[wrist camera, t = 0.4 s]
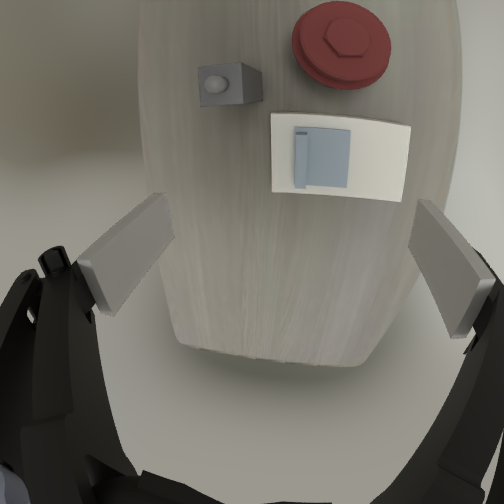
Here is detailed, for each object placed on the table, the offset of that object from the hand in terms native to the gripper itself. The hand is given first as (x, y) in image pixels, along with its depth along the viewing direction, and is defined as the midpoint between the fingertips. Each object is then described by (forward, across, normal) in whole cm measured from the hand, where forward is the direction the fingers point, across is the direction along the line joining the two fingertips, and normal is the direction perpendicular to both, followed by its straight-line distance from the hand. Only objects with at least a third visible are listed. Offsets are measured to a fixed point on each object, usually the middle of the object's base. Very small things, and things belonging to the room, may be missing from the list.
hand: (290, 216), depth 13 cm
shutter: (+20, +3, -1) cm, 20 cm away
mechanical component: (+25, +5, +12) cm, 28 cm away
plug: (+24, -6, +8) cm, 26 cm away
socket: (+25, +5, -1) cm, 25 cm away
